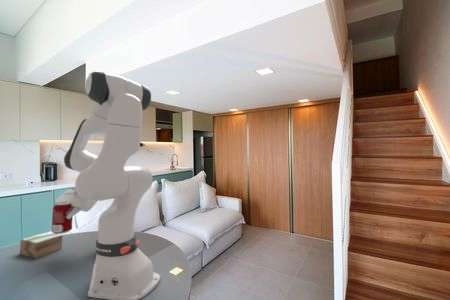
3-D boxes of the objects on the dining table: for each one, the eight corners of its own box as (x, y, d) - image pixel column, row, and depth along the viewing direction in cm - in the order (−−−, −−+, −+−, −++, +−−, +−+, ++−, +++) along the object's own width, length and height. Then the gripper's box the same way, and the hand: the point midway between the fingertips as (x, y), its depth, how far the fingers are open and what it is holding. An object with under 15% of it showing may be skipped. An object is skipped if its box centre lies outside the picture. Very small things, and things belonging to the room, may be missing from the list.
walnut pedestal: (61, 248, 95) (62, 234, 95) (35, 258, 85) (36, 243, 86) (46, 244, 98) (47, 231, 98) (19, 253, 89) (20, 239, 89)
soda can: (60, 235, 84) (62, 205, 85) (47, 233, 86) (48, 204, 86) (75, 229, 91) (77, 201, 91) (62, 228, 92) (64, 200, 93)
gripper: (66, 183, 99) (40, 209, 90) (95, 187, 91) (70, 216, 82) (76, 192, 103) (52, 217, 94) (105, 196, 95) (81, 224, 86)
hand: (61, 216), depth 88 cm, fingers closed on soda can, 6 cm apart
